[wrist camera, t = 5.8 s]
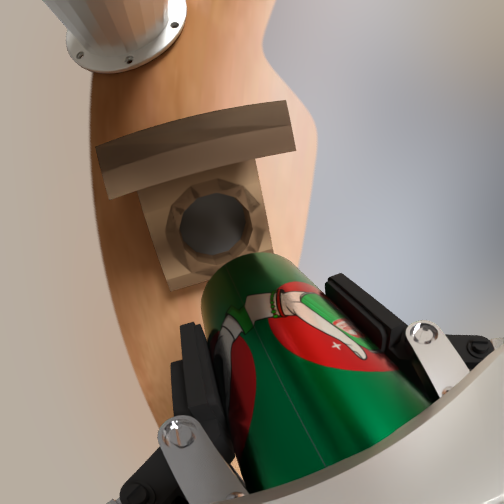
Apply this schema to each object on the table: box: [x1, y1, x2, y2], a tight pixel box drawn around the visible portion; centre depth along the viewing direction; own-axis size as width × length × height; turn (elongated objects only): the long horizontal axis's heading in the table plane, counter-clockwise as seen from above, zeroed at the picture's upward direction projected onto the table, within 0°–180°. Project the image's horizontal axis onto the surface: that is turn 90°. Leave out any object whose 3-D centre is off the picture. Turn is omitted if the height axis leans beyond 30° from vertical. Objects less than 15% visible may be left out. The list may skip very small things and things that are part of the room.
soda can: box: [201, 252, 433, 494], centre depth 8 cm, size 5×5×12 cm
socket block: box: [95, 100, 296, 291], centre depth 20 cm, size 14×10×12 cm
